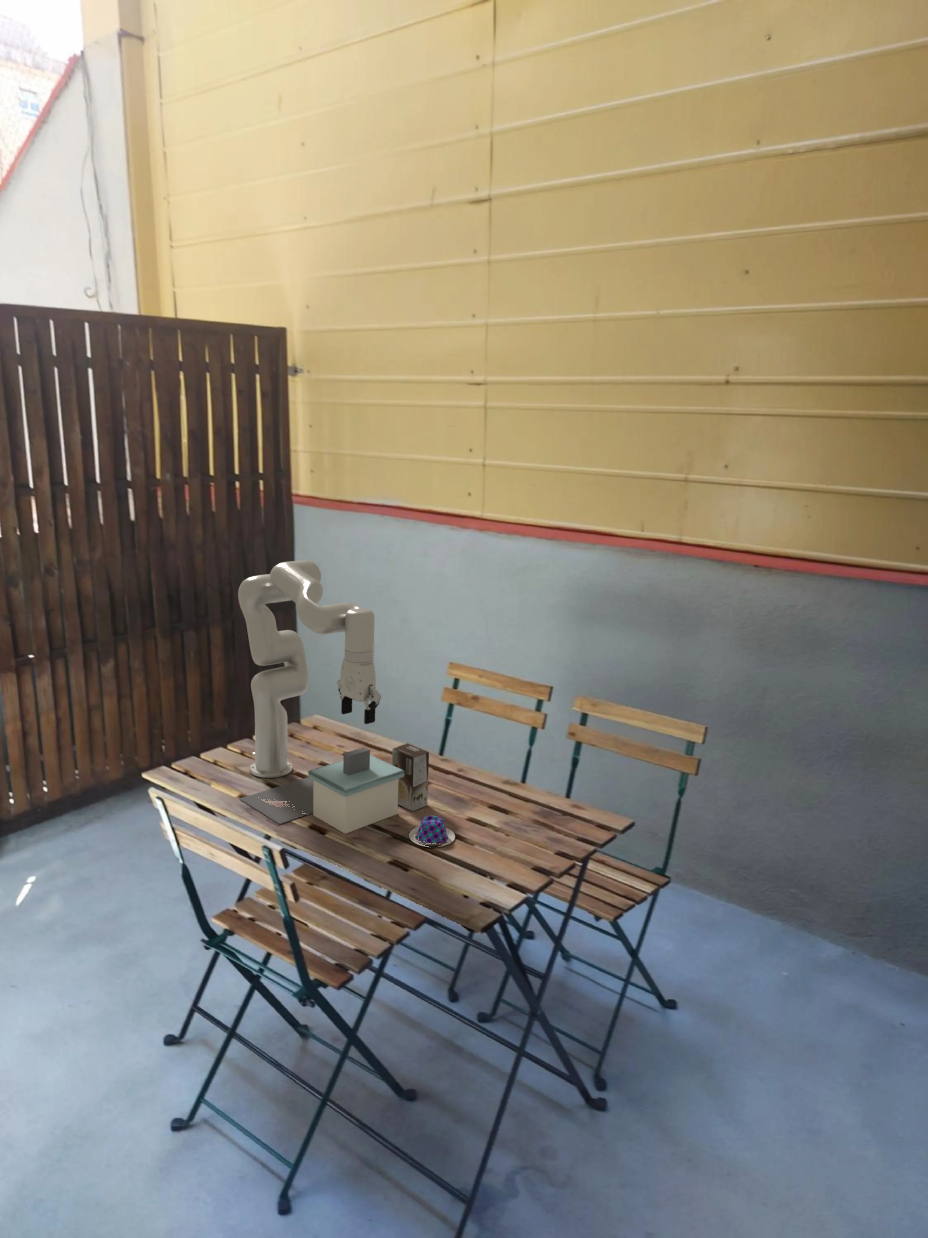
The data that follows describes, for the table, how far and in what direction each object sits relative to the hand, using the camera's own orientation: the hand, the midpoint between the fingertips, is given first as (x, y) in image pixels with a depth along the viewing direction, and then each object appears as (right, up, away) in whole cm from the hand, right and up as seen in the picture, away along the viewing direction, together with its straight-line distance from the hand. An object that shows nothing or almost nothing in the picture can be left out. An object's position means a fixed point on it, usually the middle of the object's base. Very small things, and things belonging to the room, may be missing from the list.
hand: (358, 718), depth 220 cm
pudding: (+20, -31, -4) cm, 37 cm away
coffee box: (+13, -26, +15) cm, 33 cm away
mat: (-19, -25, +14) cm, 34 cm away
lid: (-1, -16, +4) cm, 17 cm away
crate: (-1, -27, +6) cm, 28 cm away
